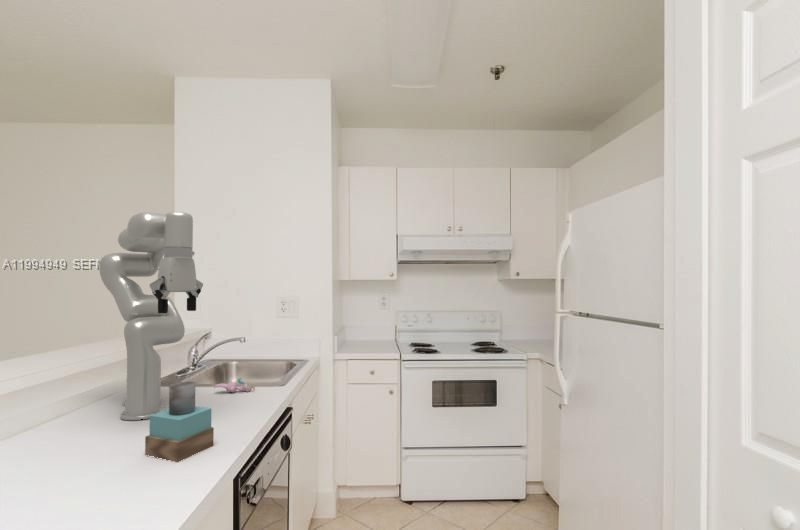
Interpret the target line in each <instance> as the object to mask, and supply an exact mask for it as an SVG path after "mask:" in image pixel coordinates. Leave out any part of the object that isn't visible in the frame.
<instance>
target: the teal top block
mask: <svg viewBox="0 0 800 530" xmlns="http://www.w3.org/2000/svg"><path fill="white" fill-rule="evenodd" d="M211 427H212V408H210V407H204V406H203V407H202V406H197V405H195V411H194V412H192V413H190V414H186V415H179V416H173V415H169V408H168V409H166V410H165V411H162V412H159V413H156V414H153V415H150V418H149V436H153V437H159V438H165V439H170V440H176V441H181V440H183V439H185V438H188V437H190V436H192V435H195V434H197V433H200V432H202V431H204V430H207V429H209V428H211Z"/></svg>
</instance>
